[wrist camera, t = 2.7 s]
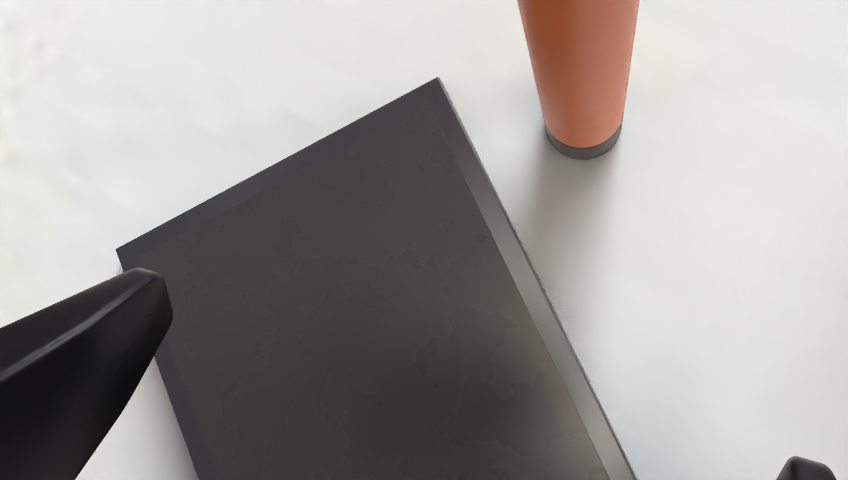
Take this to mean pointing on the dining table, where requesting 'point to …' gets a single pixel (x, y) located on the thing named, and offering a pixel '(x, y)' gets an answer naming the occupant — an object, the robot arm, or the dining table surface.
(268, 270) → the tablet
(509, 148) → the dining table surface
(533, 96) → the dining table surface
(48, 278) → the dining table surface
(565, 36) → the stylus
